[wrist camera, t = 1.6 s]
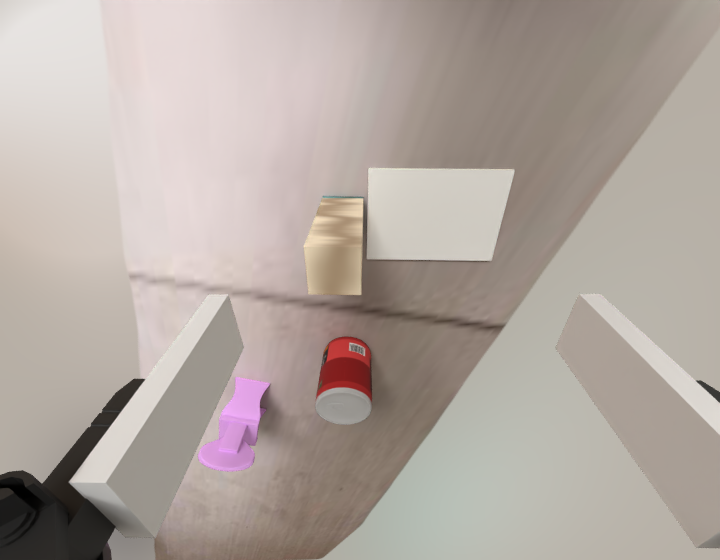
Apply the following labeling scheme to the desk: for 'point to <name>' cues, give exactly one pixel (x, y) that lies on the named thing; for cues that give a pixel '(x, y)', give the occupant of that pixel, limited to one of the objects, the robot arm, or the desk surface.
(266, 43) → the desk surface
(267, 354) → the desk surface
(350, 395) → the canned food
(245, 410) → the toy chair
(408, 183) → the mat
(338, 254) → the block
